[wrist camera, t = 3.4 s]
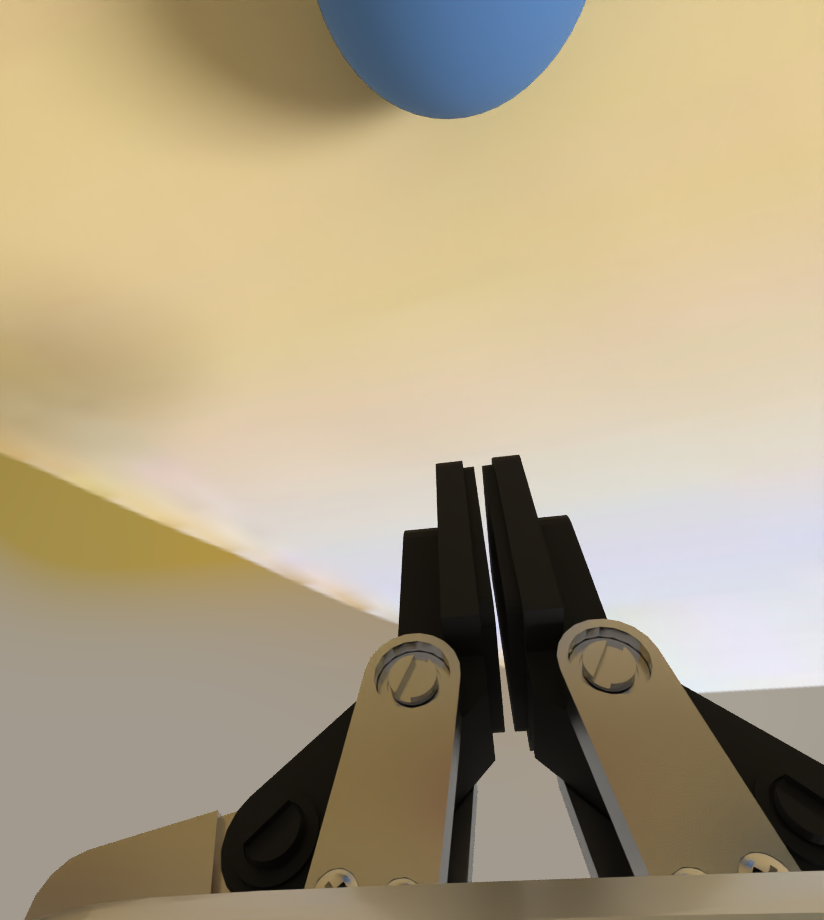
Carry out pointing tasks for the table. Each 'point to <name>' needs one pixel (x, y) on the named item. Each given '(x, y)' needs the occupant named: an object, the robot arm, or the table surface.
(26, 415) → the table surface
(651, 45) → the table surface
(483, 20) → the ball
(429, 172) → the table surface
